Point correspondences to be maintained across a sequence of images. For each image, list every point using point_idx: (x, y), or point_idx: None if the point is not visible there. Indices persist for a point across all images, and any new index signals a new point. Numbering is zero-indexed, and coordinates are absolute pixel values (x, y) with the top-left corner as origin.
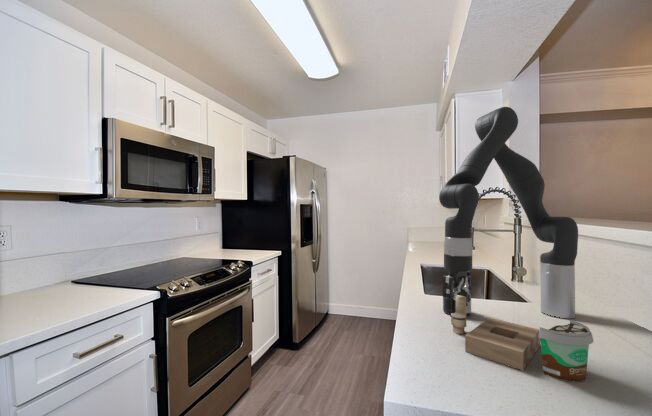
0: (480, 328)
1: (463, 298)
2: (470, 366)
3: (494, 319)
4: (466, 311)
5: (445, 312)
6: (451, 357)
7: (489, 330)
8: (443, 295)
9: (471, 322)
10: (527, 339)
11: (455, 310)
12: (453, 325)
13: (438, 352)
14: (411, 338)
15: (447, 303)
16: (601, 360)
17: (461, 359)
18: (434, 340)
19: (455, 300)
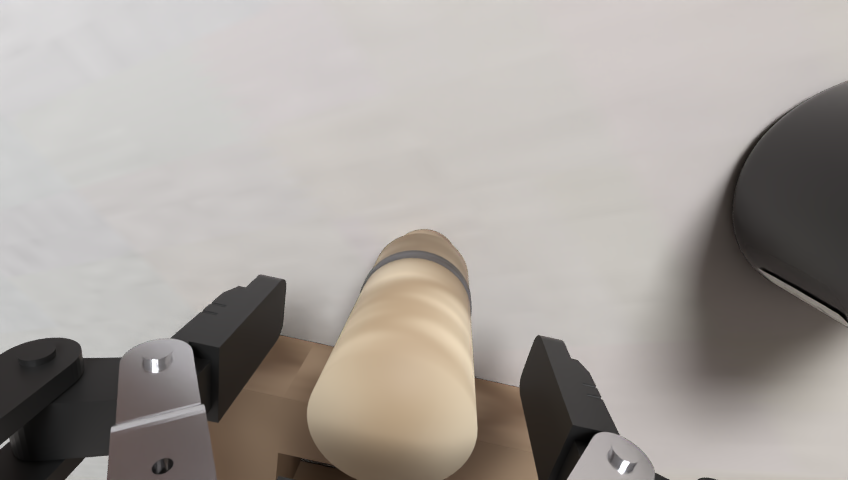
0: (302, 421)
1: (363, 469)
2: (89, 345)
3: (520, 476)
4: (779, 283)
5: (791, 110)
6: (97, 276)
7: (307, 455)
8: (6, 363)
9: (641, 301)
10: None
11: (267, 346)
12: (380, 254)
13: (93, 218)
14: (126, 33)
15: (189, 324)
16: None
17: (115, 311)
18: (207, 167)
19: (213, 416)
